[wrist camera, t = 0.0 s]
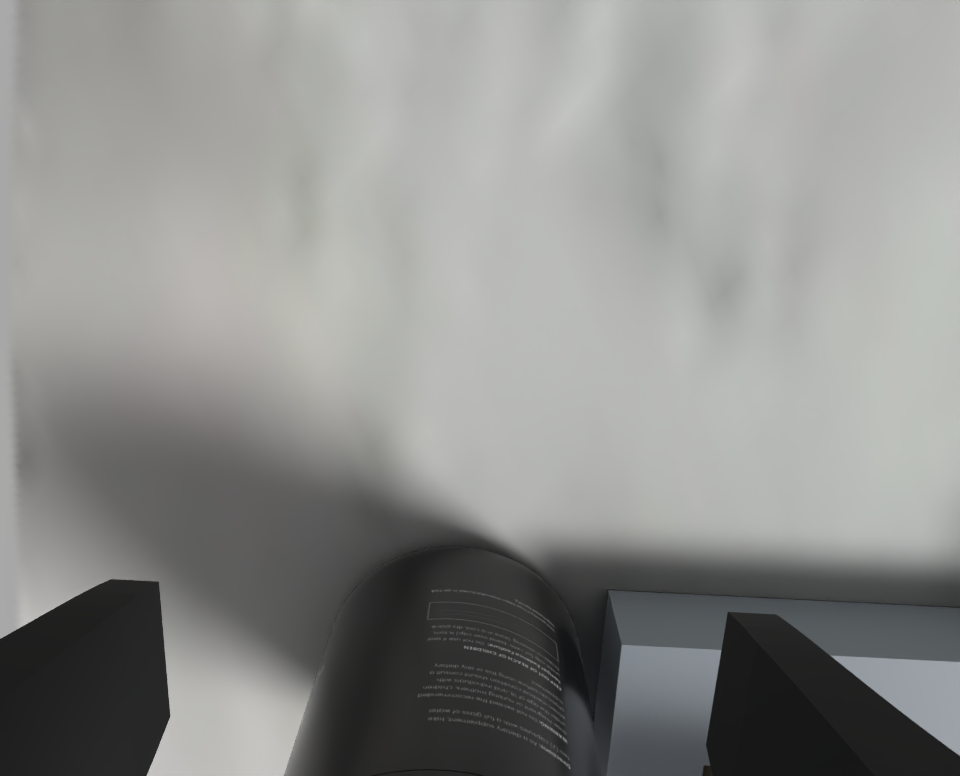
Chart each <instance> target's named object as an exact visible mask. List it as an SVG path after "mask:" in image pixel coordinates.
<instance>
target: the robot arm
mask: <svg viewBox="0 0 960 776" xmlns="http://www.w3.org/2000/svg"><path fill="white" fill-rule="evenodd" d="M169 718H170V709H169V697H168V685H167V673H166V662H165V650H164V638H163V626H162V614H161V603H160V591H159V582H152V581H133V580H114V579H111V580H108V581H106V582H104V583H102V584H100V585H98V586H95V587H94V588H92V589H90V590H88V591H86V592H84V593H82V594H80V595H78V596H76V597H74V598H73V599H71V600H69V601H67V602H65V603H64V604H62V605H60V606H58V607H56V608H55V609H53V610H51V611H49V612H47V613H46V614H44V615H42V616H40V617H39V618H37V619H35V620H33V621H32V622H30V623H28V624H26V625H24V626H23V627H21V628H19V629H17V630H16V631H14V632H12V633H10V634H8V635H7V636H5V637H3V638H1V639H0V776H146V775H147V773H148V771H149V768H150V766H151V763H152V761H153V759H154V756H155V754H156V751H157V749H158V746H159V744H160V741H161V738H162V736H163V733H164V731H165V728H166V726H167V723H168V721H169ZM706 748H707V753H708V757H709V762H710V766H711V771H712V776H960V755H958V754H957V753H955V752H954V751H952V750H951V749H950V748H948V747H947V746H946V745H944V744H943V743H942V742H940V741H939V740H938V739H936V738H935V737H934V736H932V735H931V734H930V733H928V732H927V731H926V730H924V729H923V728H922V727H920V726H919V725H918V724H916V723H915V722H914V721H912V720H911V719H910V718H908V717H907V716H906V715H905V714H903V713H902V712H901V711H899V710H898V709H897V708H896V707H894V706H893V705H892V704H890V703H889V702H888V701H887V700H885V699H884V698H883V697H881V696H880V695H879V694H878V693H876V692H875V691H874V690H873V689H871V688H870V687H869V686H868V685H866V684H865V683H864V682H863V681H861V680H860V679H859V678H858V677H856V676H855V675H854V674H853V673H851V672H850V671H849V670H848V669H846V668H845V667H844V666H843V665H841V664H840V663H839V662H838V661H836V660H835V659H834V658H833V657H831V656H830V655H829V654H828V653H826V652H825V651H824V650H823V649H821V648H820V647H819V646H818V645H816V644H815V643H814V642H813V641H811V640H810V639H809V638H808V637H806V636H805V635H804V634H802V633H801V632H800V631H799V630H797V629H796V628H795V627H793V626H792V625H791V624H789V623H788V622H787V621H785V620H784V619H782V618H781V617H779V616H778V615H776V614H760V613H741V612H728V613H727V619H726V625H725V631H724V638H723V644H722V650H721V656H720V662H719V668H718V674H717V680H716V686H715V692H714V698H713V704H712V710H711V717H710V723H709V729H708V735H707V741H706Z"/></svg>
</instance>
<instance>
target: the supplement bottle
mask: <svg viewBox="0 0 960 776" xmlns="http://www.w3.org/2000/svg"><path fill="white" fill-rule="evenodd" d="M284 776H602V772H601V766H600V760H599V754H598V748H597V742H596V736H595V730H594V724H593V718H592V712H591V706H590V700H589V694H588V688H587V682H586V675H585V669H584V664H583V659H582V654H581V648H580V643H579V639H578V635H577V632H576V629H575V626H574V623H573V620H572V618H571V616H570V614H569V612H568V610H567V608H566V607H565V605H564V604H563V602H562V601H561V599H560V598H559V596H558V595H557V594H556V593H555V592H554V590H553V589H552V588H551V587H550V586H549V585H548V584H547V583H546V582H545V581H544V580H543V579H542V578H540V577H539V576H538V575H537V574H536V573H534V572H533V571H531V570H530V569H528V568H527V567H525V566H523V565H522V564H520V563H518V562H516V561H514V560H512V559H510V558H507V557H505V556H503V555H500V554H497V553H494V552H490V551H486V550H482V549H477V548H470V547H457V546H450V547H436V548H429V549H424V550H419V551H415V552H412V553H409V554H405V555H403V556H401V557H398V558H396V559H393V560H392V561H390V562H388V563H386V564H384V565H382V566H381V567H379V568H378V569H376V570H375V571H373V572H372V573H371V574H370V575H368V576H367V577H366V578H365V579H364V580H363V581H362V582H361V583H360V584H359V585H358V586H357V587H356V588H355V589H354V590H353V591H352V593H351V594H350V595H349V596H348V598H347V599H346V601H345V602H344V604H343V606H342V608H341V610H340V612H339V614H338V616H337V618H336V620H335V622H334V625H333V628H332V631H331V634H330V636H329V639H328V642H327V645H326V648H325V650H324V653H323V657H322V660H321V663H320V666H319V669H318V672H317V675H316V678H315V681H314V684H313V688H312V691H311V694H310V697H309V700H308V703H307V706H306V709H305V712H304V715H303V719H302V722H301V725H300V728H299V731H298V734H297V737H296V740H295V743H294V746H293V750H292V753H291V756H290V759H289V762H288V765H287V768H286V771H285V774H284Z"/></svg>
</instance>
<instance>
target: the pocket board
mask: <svg viewBox="0 0 960 776" xmlns="http://www.w3.org/2000/svg"><path fill="white" fill-rule="evenodd" d="M728 612H741V613H760V614H776V615H778V616H779V617H781V618H782V619H784V620H785V621H787V622H788V623H789V624H791V625H792V626H793V627H795V628H796V629H797V630H799V631H800V632H801V633H802V634H804V635H805V636H806V637H808V638H809V639H810V640H811V641H813V642H814V643H815V644H816V645H818V646H819V647H820V648H821V649H823V650H824V651H825V652H826V653H828V654H829V655H830V656H831V657H833V658H834V659H835V660H836V661H838V662H839V663H840V664H841V665H843V666H844V667H845V668H846V669H848V670H849V671H850V672H851V673H853V674H854V675H855V676H856V677H858V678H859V679H860V680H861V681H863V682H864V683H865V684H866V685H868V686H869V687H870V688H871V689H873V690H874V691H875V692H876V693H878V694H879V695H880V696H881V697H883V698H884V699H885V700H887V701H888V702H889V703H890V704H892V705H893V706H894V707H896V708H897V709H898V710H899V711H901V712H902V713H903V714H905V715H906V716H907V717H908V718H910V719H911V720H912V721H914V722H915V723H916V724H918V725H919V726H920V727H922V728H923V729H924V730H926V731H927V732H928V733H930V734H931V735H932V736H934V737H935V738H936V739H938V740H939V741H940V742H942V743H943V744H944V745H946V746H947V747H948V748H950V749H951V750H952V751H954V752H955V753H957V754H958V755H960V608H950V607H931V606H911V605H891V604H871V603H852V602H832V601H812V600H792V599H773V598H753V597H733V596H713V595H694V594H674V593H654V592H634V591H615V590H608V597H607V607H606V616H605V625H604V634H603V644H602V653H601V662H600V671H599V680H598V690H597V699H596V708H595V717H594V730H595V736H596V742H597V748H598V754H599V760H600V766H601V772H602V776H702V773H703V767H704V765H708V766H710V762H709V757H708V753H707V748H706V741H707V735H708V729H709V723H710V717H711V710H712V704H713V698H714V692H715V686H716V680H717V674H718V668H719V662H720V656H721V650H722V644H723V638H724V631H725V625H726V619H727V613H728Z"/></svg>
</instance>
